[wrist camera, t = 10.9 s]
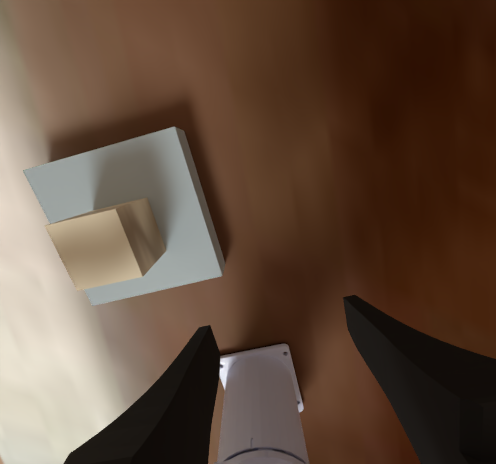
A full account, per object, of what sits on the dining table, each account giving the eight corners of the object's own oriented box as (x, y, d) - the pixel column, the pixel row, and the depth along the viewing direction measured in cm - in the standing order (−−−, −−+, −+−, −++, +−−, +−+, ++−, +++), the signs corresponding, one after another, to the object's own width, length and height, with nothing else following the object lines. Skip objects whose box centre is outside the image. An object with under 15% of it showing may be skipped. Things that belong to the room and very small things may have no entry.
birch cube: (166, 250, 19) (142, 276, 15) (115, 262, 20) (77, 291, 15) (147, 197, 18) (115, 208, 14) (92, 210, 18) (44, 225, 14)
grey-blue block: (225, 261, 23) (222, 276, 20) (111, 288, 24) (92, 305, 21) (185, 131, 19) (174, 126, 16) (54, 169, 20) (22, 170, 17)
